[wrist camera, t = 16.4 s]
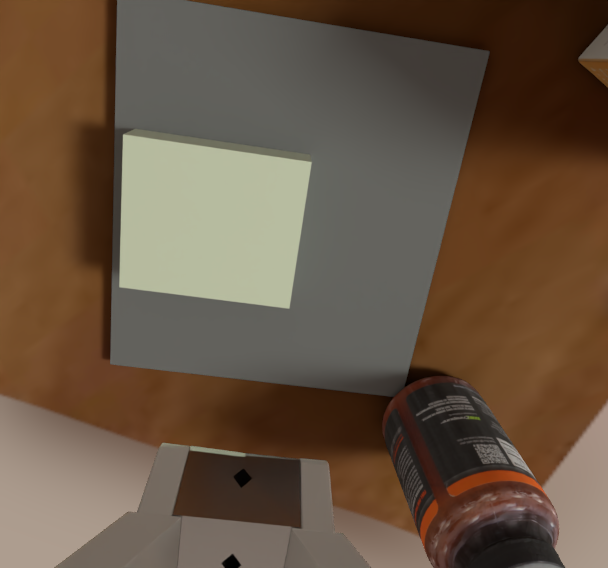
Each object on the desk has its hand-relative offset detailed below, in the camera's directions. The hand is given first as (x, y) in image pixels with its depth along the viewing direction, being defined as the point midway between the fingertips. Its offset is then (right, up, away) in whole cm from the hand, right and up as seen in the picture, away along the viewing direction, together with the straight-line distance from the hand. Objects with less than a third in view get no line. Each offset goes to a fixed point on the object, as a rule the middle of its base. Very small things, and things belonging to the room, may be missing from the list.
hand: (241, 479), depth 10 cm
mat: (0, +7, +17) cm, 18 cm away
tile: (+1, +6, +16) cm, 17 cm away
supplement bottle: (+8, -4, +22) cm, 23 cm away
